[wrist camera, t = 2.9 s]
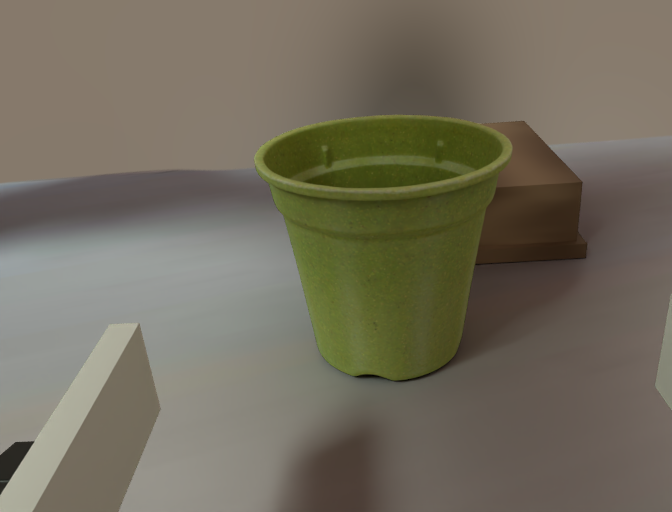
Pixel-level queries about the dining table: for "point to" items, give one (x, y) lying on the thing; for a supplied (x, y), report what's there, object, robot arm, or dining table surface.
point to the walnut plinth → (531, 204)
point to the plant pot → (385, 232)
